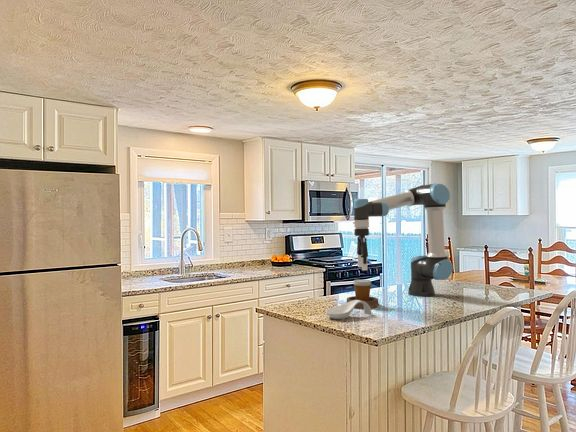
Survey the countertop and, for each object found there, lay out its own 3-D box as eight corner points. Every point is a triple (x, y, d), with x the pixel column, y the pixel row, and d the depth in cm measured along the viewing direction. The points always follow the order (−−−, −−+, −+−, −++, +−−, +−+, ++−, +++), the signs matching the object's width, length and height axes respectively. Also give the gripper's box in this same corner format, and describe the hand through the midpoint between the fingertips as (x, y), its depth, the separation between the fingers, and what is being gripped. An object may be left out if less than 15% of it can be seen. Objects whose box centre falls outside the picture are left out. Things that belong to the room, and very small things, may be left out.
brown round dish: (358, 301, 241) (358, 294, 241) (385, 305, 229) (385, 298, 229) (339, 305, 230) (339, 298, 230) (366, 310, 217) (366, 303, 217)
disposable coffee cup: (371, 305, 224) (371, 282, 224) (352, 305, 226) (352, 281, 226) (371, 302, 233) (371, 279, 233) (353, 301, 235) (353, 279, 235)
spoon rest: (335, 322, 194) (335, 306, 194) (320, 317, 204) (320, 302, 204) (376, 316, 206) (376, 300, 206) (360, 311, 216) (359, 297, 216)
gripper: (351, 227, 242) (352, 266, 242) (358, 229, 217) (359, 271, 217) (364, 227, 242) (365, 265, 242) (373, 228, 217) (374, 271, 217)
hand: (362, 268), depth 230 cm, fingers open, 13 cm apart
